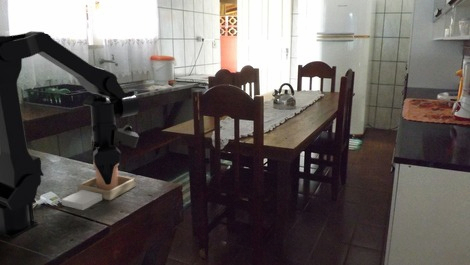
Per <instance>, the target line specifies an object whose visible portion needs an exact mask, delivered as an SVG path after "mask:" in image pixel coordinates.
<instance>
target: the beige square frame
mask: <svg viewBox="0 0 470 265" xmlns="http://www.w3.org/2000/svg"><path fill="white" fill-rule="evenodd" d="M136 181H137V180H136V178H134V177H130V176H126V175H120V174H118V185H119V186H117V187H116V188H114V189H112V190H110V191H108V190H103V189H99V188H97V187H96V176H94V177H92V178H90V179H88V180H85V181H84V182H80V183H79V184H77V192H78V191H80V190H86V191H90V192H94V193H99V194H102V200H107V201H111V200H114V199H116V198H117V197H118V196H120V195H122V194H124V193H126V192H127V191H130V190H131V189H133V188H135V187H136V186H137V184H136V183H137V182H136Z"/></svg>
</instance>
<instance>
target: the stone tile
mask: <svg viewBox="0 0 470 265" xmlns="http://www.w3.org/2000/svg"><path fill="white" fill-rule="evenodd" d="M102 200H103V199H102V194H99V193H94V192H90V191H86V190H80V191H78V190H77V191H76V192H74V193H72V194H70V195H68V196H66V197H63V198H61V205H62V206H65V207H68V208H73V209H76V210H79V211H84V210H86V209H88V208H90V207H92V206H94V205H96V204H97V203H99V202H101V201H102Z"/></svg>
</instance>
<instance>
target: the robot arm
mask: <svg viewBox="0 0 470 265" xmlns="http://www.w3.org/2000/svg"><path fill="white" fill-rule="evenodd" d="M37 54H38V55H39V56H41V57H42V58H44V59H45V60H47V61H49V62H50V63H52V64H53V65H55V66H57V67H58V68H60V69H61V70H63V71H65V72H66V73H68V74H69V75H71V76H73V77H74V78H75V79H77V81H78V83H79V84H80V86H81V87H83V88H84V89H85V90H86V91H87V92H88V93H91V94H89V95H88V96H87V97H86V99H85V100H83V102H82V105H84V106H89V107H90V114H91V115H90V116H91V128H92V129H91V130H92V136H91V137H90V139H91V140H90V141H91V149H92V151H93V161H94V163H95V165H96V167H97V169H98V170H99V172H100V174H101V176H102V178H103V180H104V182H105V183H106V185H109V184H111V179H112V174H113V169H114V166H115V165H116V164H118V163H119V164H120V163H121V162H122V152H121V150H120V149H119V148H118V147H119V144H120V145H124V146H127V147H128V146H129V147H130V148H133V149H134V148H136V147H137V144H138V141H139V138H140V136H139V133H137V132H135V131H133V128H132V126H130V125H127V124H126V125H125V126H124V127H123V128H122V127H121V128H118V125H117V123H116V118H118V119H119V118H125V117H130V116H133V115H137V114H139V112H140V110H141V104H140V101H139V99H138V97H137V96H136V95H135V91H134V90H129V89H128V90H127V89H126V90H124V89H123V87H122V86H121V85H120V83H119V82H118V78H117V75H116V74H115V73H113V72H111V71H109V70H106V69H104V68H101V67H98V66H95V65H93V64H90V63H88V62H87V61H86V60H84V59H83V58H82V57H80V56H79V55H77V54H75V53H74V52H72V51H71V50H69V48H67V47H66V46H64V45H62V44H61V43H60V42H58V41H56V40H55V39H54V38H52V36H51V35H50V34H48V33H47V32H46V31H45V32H44V31H28V32H26V33H19V34H14V35H13V34H12V35H7V36H5V35H0V235H1V236H5V237H7V238H11V239H13V238H16V237H17V236H19V235H21V234H23V233H25V232H27V231H29V230H31V229H32V228H35V227H36V226H38V225H39V222H38V221H36V220H35V215H34V214H35V213H34V212H35V211H34V204H33V203H35V200H36V196H37V193H38V188H39V187H40V185H42V177H43V176H44V175H45V174H44V173H43V171H42V160H41V157H39V156H35V155H33V154H30V152H29V149H28V146H27V145H28V144H27V138H26V132H25V127H24V126H25V125H24V121H23V120H24V119H23V114H22V109H21V101H20V94H19V89H18V80H19V77H20V74H21V71H22V68H23V59H26V58H31V57H33V56H35V55H37ZM92 94H95V95H99V96H97V97H96V96H95V95H92Z"/></svg>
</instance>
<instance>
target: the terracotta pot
mask: <svg viewBox="0 0 470 265" xmlns="http://www.w3.org/2000/svg"><path fill="white" fill-rule="evenodd" d="M92 164H93V168H94V171H95V177H96V186H95V188H99V189H103V190H108V191H110V190H112V189H114V188H116V187H117V186H119V185H120V184H118V175H119V167H118V166H119V165H120V163H118V164H116V165H115V166H114V169H113V174H112V179H111V184H109V185H106V183H105V182H104V180H103V178H102V176H101V174H100V172H99V170H98V169H97V167H96V165H95V163H94V160H93V163H92Z"/></svg>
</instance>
